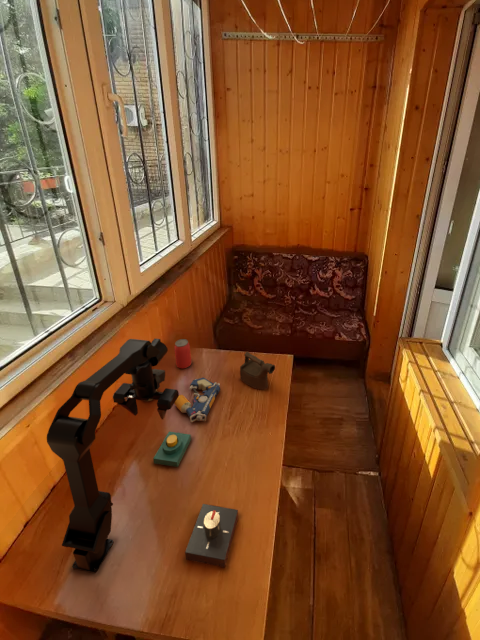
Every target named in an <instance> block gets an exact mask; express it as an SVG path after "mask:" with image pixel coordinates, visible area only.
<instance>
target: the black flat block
mask: <svg viewBox="0 0 480 640" xmlns="http://www.w3.org/2000/svg"><path fill="white" fill-rule="evenodd" d="M213 510H215V511H216V512H218V513H219V515H220V524H221V530H220V533H219V535H218V536H217V537H215V538H213V539H209V538H207V537H206V535H205V529H204V518H205V516H206V515H207V514H208V513H209V512H211V511H213ZM238 519H239V510H238V509H235V508H229V507H225V506H224V507H223V506H218V505H213V504H207V503H202V505H201V508H200V511H199V513H198V515H197V518H196V522H195V524H194V527H193V529H192V532H191V535H190V537H189V540H188V543H187V546H186V548H185V550H184V556H185V560H186V561H191V562H196V563H201V564H206V565H211V566H216V567H221V568H226V567H227V562H228V557H229V554H230V550H231V546H232V543H233V538H234V535H235V531H236V527H237V523H238Z"/></svg>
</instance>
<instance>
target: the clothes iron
mask: <svg viewBox="0 0 480 640" xmlns="http://www.w3.org/2000/svg"><path fill="white" fill-rule="evenodd" d="M275 370H276V366H275V364H272V363H270V362H269V363H268V362H265V361H264V360H263V359H260V358H259V357H257V356H256V355H253V354H252V353H250V352H249V351H245V353H244V363H243V364H241V365H240V367H239V371H240V372H239V376H240V378H239V379H240V380H241V382H242V383H244V384H246V385H248V386H249V387H251V388H253V389H257V390H267V389H268V388H269V382H268V374H269V375H272V374H273V373H274V371H275Z"/></svg>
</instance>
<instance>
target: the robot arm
mask: <svg viewBox="0 0 480 640" xmlns="http://www.w3.org/2000/svg"><path fill="white" fill-rule="evenodd" d="M167 353H168V347H167V345H166V344H165V343H164V342H162V341H161V338H154V339H153V340H147V339H136V338H128V339H127V340H126V341H125V342H124V343H123V344H122V345H121V346H120V348H119V352H118V353H117V355H116V356H114V357H113V358H111V360H110V361H108V362H107V363H106V364H104V365H103V366H101V367H100V368H99V369H98V370H97V371H95V372H94V373H93V374H92V375H90V376H88V377H87V378H86V379H85V380H82V381H80V382H78V383H77V384H76V386H75V388H74V389H73V392H72V394H71V396H70V397H69V398H68V399H67V400H66V401H65V402H64V403H63V404H62V405H61V406H60V407H59V408H58V409H57V411H56V413H55V415H54V417H53V419H52V421H51V424H50V426H49V428H48V430H47V433H46V443H47V445H48V446H49V449H50V450H51V452H52V453H54V454H55V455H56V456H57V457H59V458H60V459H61V460H62V462H63V465H64V469H65V473H66V477H67V481H68V485H69V489H70V494H71V498H72V501H73V508H72V509H71V511H70V513H69V515H68V525H67V527H66V531H65V534H64V537H63V540H62V543H61V547H64V548H71V549H74V550H73V551H72V554H73V555H72V556H73V557H74V562H73V563H72V566H71V567H72V569H73V570H77V571H81V572H86V573H91V574H96V573H98V571H99V570H100V568H101V566H102V565H103V563H104V561H105V559H106V557H107V555H108V553H109V552H110V550H111V548H112V546H113V544H114V539H111V538H108V537H109V536H110V533H111V531H112V521H113V520H112V519H113V511H112V509H113V508H112V506H113V505H114V503H113V502H112V495H111V493H110V492H107V491H102V490H99V486H98V482H97V478H96V477H97V476H96V473H95V468H94V462H93V459H92V454H91V447H92V445H93V444H94V441H95V440H96V431H97V428H98V426H99V423H100V420H101V418H102V409H101V408H102V407H101V401H102V398H103V395H104V393H105V392H106V391H107V390H108V389H109V388H110V387H111V386H112V385H113V384H115V383H116V382H117V381H118V380H119V379H120V378H121V377H122V376H124V375H129V376H130V375H131V381H132V383H129V382H128V383H127V382H123V383H122V384H121V385H119V387H118V388H117V389H116V390H115V391H114V393H113V394H112V400H113V403H115V404H117V405H119V406H121V407H122V408H124V409H126V410H127V411H128V412H129V413H131V414H132V415H133V416H134V417H136V416H137V415H138V413H139V410H138V409H139V408H138V403H137V401H143V400H144V401H143V402H149V401H148V400H149V399H153V400H156V401H157V402H156V407H157V408H156V410H157V412H158V415H159V417H160V419H161V420H162V421H163V420H164V419H165V417H166V414H167V411H169V410H171V409H172V407H173V406H174V405H175V404H174V403H175V401H176V400H177V398H178V396H179V395H180V394H179V389H175V388H164V390H163V391H158V390H159V388H160V387H161V385H160V384H162V383H163V382H165V379H166V370H165V369H158V368H153V367H156V366H158V364H159V363H161V361H162V359H164V357H165V356H166V355H167ZM156 389H157V391H156ZM82 401H88V418H81V417H76V416H75V417H74V416H70V414H71V413H72V411H73V410H74V409H75V408H76V407H77V406H78V405H79V404H81V402H82Z"/></svg>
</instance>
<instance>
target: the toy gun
mask: <svg viewBox="0 0 480 640" xmlns="http://www.w3.org/2000/svg"><path fill="white" fill-rule="evenodd" d="M189 390H193V392H194V393H193V399H192V404H191V402H190V401H189V400H188V398H186V396H185V395H184V394H179V396H178V398H177V400H176V401H175V403H174V404H173V405H175V407H176V408H177V409H178V410H179V411H180V412H181V413H182V414H187V416H188V417H189V422H190V423H193V422H196V421H198V422H201V421H202V422H206V421H207V417H208V414H209V412H210V410H211V408H212V407H213V406H212V405H213V404H214V402H215V399H216V398H217V396H218V395H219V393H220V391H221V384H220V383H219V382H218V383H217V381H214V382H211V381H210V380H208V379H207V378H206V377H205V376H204V377H200V378H195V379H193V380H192V381H191V382H190V384H189ZM197 390H199V391H200V390H202V394H200V392H199V391H197Z"/></svg>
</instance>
